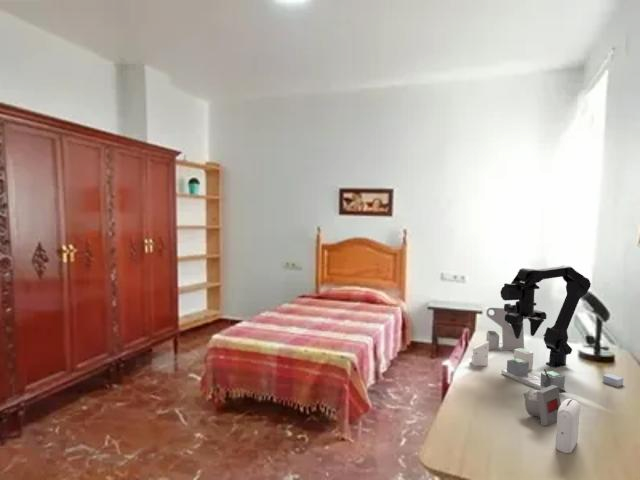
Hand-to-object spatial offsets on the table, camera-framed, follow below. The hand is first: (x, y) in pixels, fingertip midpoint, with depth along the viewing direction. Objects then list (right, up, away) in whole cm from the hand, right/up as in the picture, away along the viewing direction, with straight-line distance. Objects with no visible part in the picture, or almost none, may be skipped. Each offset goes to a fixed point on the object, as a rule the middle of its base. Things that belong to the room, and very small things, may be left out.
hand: (524, 337), depth 184 cm
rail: (-4, -14, -15) cm, 21 cm away
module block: (0, -13, +1) cm, 13 cm away
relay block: (+23, -13, -19) cm, 32 cm away
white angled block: (-17, -12, +4) cm, 22 cm away
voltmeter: (-12, -15, -39) cm, 44 cm away
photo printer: (-17, -17, -61) cm, 65 cm away
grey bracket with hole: (+4, -11, +29) cm, 31 cm away
